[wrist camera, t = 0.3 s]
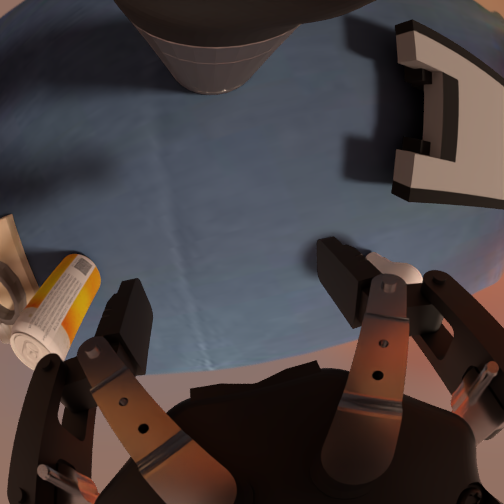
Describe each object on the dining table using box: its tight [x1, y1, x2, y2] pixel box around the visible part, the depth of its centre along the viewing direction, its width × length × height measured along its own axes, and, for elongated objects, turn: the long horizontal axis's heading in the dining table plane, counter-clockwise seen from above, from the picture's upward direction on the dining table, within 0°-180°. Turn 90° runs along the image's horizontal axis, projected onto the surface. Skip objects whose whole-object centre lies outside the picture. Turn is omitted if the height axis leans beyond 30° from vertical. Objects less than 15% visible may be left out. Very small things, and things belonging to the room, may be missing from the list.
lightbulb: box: [365, 252, 423, 284], centre depth 30 cm, size 6×6×11 cm
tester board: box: [0, 214, 39, 344], centre depth 26 cm, size 20×14×4 cm
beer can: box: [10, 254, 101, 370], centre depth 23 cm, size 6×6×15 cm
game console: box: [391, 20, 504, 209], centre depth 25 cm, size 21×32×8 cm, turn 90°
